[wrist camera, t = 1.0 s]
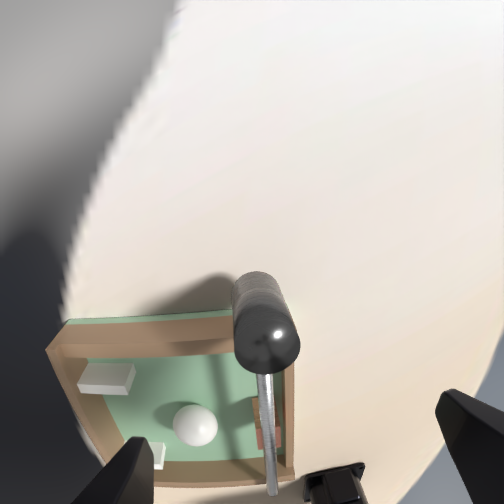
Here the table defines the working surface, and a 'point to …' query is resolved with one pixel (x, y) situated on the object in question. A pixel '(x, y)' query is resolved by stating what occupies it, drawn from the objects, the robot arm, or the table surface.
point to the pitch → (171, 394)
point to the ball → (195, 425)
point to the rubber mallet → (264, 355)
